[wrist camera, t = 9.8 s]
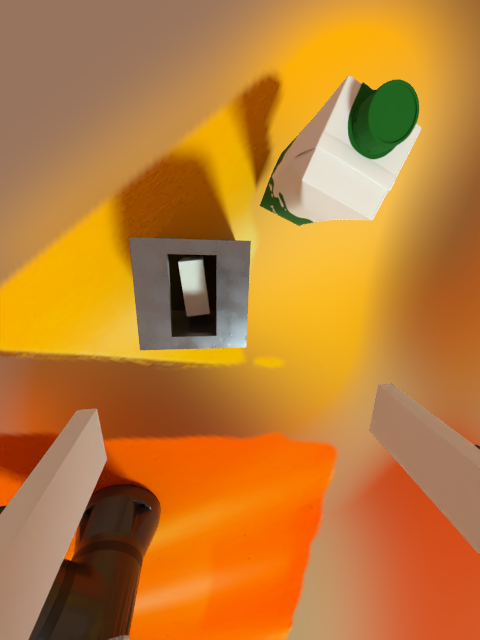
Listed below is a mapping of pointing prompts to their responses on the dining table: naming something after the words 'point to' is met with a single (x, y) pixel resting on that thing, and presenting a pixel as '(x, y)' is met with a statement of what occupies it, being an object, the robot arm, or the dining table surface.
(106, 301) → the dining table surface
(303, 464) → the dining table surface
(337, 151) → the milk carton
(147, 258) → the grey open box
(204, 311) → the white rectangular block
